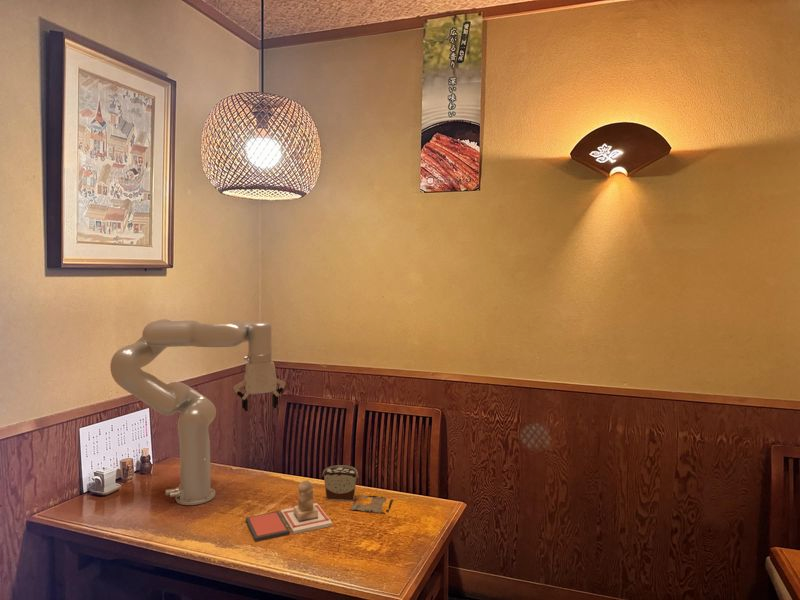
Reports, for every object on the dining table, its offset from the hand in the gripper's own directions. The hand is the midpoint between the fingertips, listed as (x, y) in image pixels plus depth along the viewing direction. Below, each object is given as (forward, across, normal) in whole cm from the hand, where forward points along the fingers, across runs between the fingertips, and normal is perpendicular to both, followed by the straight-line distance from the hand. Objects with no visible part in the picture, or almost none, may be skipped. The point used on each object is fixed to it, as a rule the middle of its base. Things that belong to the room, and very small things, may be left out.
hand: (260, 408), depth 182 cm
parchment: (+31, +32, -22) cm, 50 cm away
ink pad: (+30, -3, -23) cm, 38 cm away
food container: (+31, +25, -12) cm, 41 cm away
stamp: (+29, +9, -23) cm, 38 cm away
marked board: (+30, +9, -23) cm, 39 cm away
